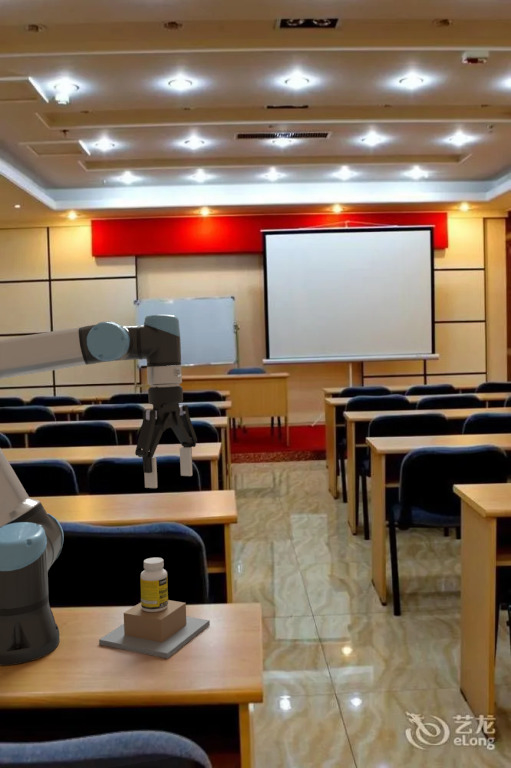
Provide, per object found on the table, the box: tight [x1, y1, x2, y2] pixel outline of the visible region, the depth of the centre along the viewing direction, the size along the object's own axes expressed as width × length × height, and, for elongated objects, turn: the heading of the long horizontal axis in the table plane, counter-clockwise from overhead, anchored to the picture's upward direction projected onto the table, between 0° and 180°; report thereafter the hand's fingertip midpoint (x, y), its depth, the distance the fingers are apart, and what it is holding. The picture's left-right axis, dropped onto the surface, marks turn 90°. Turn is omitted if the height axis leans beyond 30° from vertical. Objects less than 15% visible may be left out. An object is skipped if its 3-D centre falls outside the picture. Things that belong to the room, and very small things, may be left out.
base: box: [98, 599, 211, 660], centre depth 130 cm, size 16×16×6 cm
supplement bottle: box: [140, 557, 169, 612], centre depth 129 cm, size 5×5×10 cm
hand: (169, 481), depth 141 cm, fingers open, 13 cm apart
